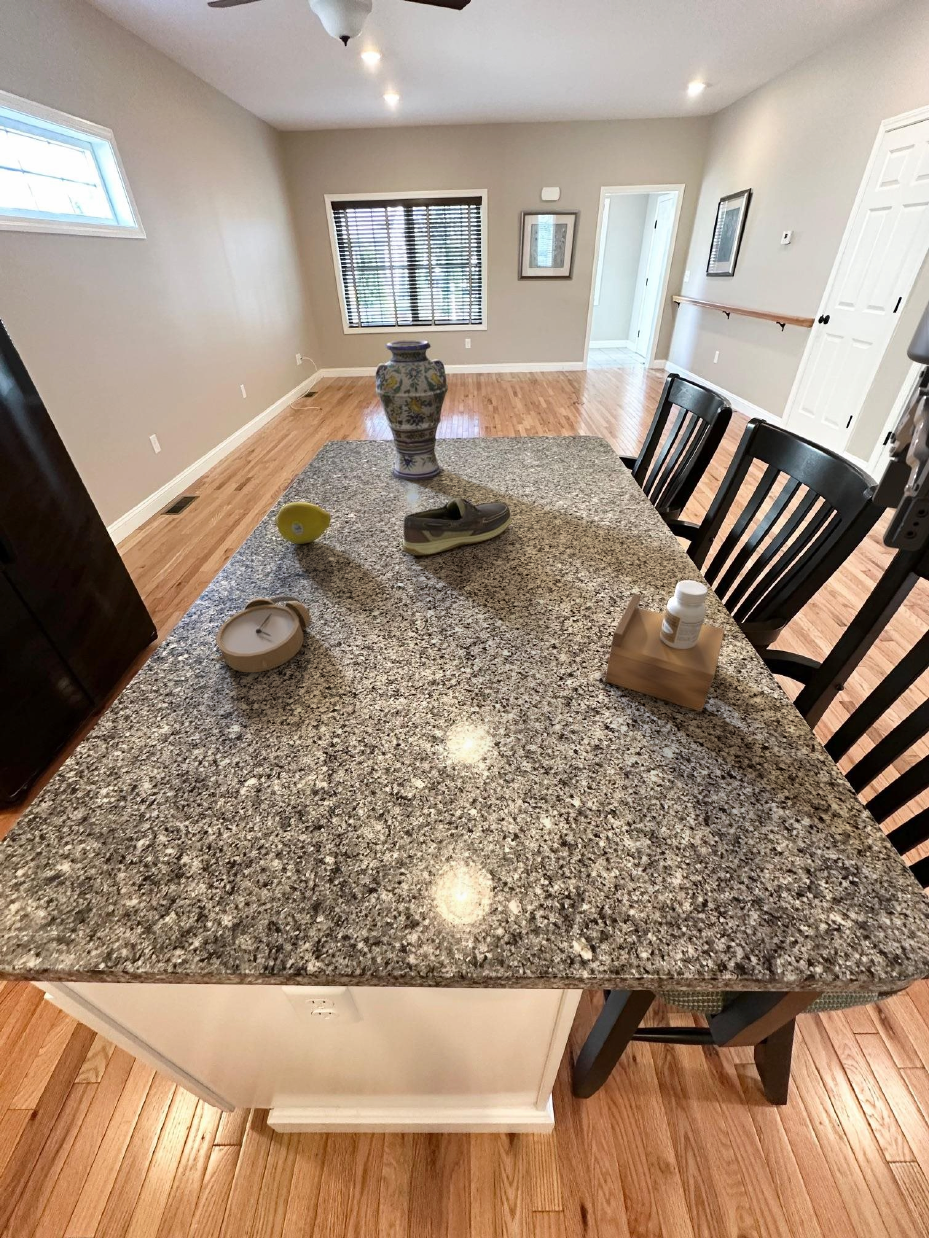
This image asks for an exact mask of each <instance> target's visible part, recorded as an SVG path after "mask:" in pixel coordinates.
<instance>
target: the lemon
mask: <svg viewBox="0 0 929 1238" xmlns="http://www.w3.org/2000/svg"><path fill="white" fill-rule="evenodd" d="M274 522H275V525H276V526H277V530H278V532H279V534H280V536H281V537H282V538H283V539H284V540H286V541H288V542H290V543H293V544H300V545H301V544H303V545H304V544H308V543H311V542H314V541H315V540H317V539H319V538H320V537H322V536H323V535H324V533H325V532H326V530H328V529H329V528H330V526H331V525H330V524H331V514H330V513H329V512H327V510H324V509H322V508H321V507H320V506H318V505H316V504H314V503H311V502H305V501H293V502H290V503H287V504H285V505H283V506H282V507H281V508H280V509H279V511H278V513H277V516H276V518H275V521H274Z"/></svg>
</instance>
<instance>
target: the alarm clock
mask: <svg viewBox="0 0 929 1238" xmlns="http://www.w3.org/2000/svg"><path fill="white" fill-rule="evenodd" d="M282 602H286V603H285V604H284V605H281V604H277V603H282ZM310 611H311V608H310V607H306V606H305V605H304V604H303V601H302V599H300V598H299V597H297V596H293V595H278V596H274V597H272V598H266V597H255V598H252V599H251V600H249V601H248V602H247V604H246V605H245V607H244V610H241V611H239V612H238V613H235V614H234V615H232V616H230V617H229V618H228V619H227V620H225V622H223V623H222V625H221V626H220V627H219V629H218V630H217V633H216V640H215V641H216V644H217V646H218V648H219V651H220V652H221V655H220V656H218V657H217V658H216V659H215V662H216V663H220V662H222V661H224V662H225V664H226V665H227V666H228V667H230V668H232V670H234V671H238V672H242V673H260V672H264V671H270V670H272V669H274V668H277V667H280V666H283V664H285V663H286V662H288V661H289V660H291V659H293V658H294V656H296V654H297V653H298V652H300V650H301V648H302V645H303V644H304V632H303V630H306V629H307V628H308V627H309V626H310V624H311V620H312V619H311V614H310Z"/></svg>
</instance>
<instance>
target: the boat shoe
mask: <svg viewBox="0 0 929 1238" xmlns="http://www.w3.org/2000/svg"><path fill="white" fill-rule="evenodd" d="M512 521H513V519H512V513H511V509H510V507H509V506H508V504H507V503H505V502H503V501H494V502H493V501H492V502H486V503H477V504H475V505H474V504H473V502H472V501H470V500H467V499H465V498H463V497H455V498H451V499H450V500H448V502H446V503H445V504H444V505H443V506H441V507H437V508H429V509H426V510H422V511H418V512H412V513H409V514H406V515H404V516H403V525H402V532H403V535H402V536H403V538H402V550H403V551H404V552H406V553H408V554H410V555H412V556H427V555H429V556H430V555H434V554H438V553H441V552H445V551H448V550H452V549H455V548H458V547H461V546H466V545H473V544H477V543H481V542H483V541H484V542H485V541H488V540H490V539H493V538H495V537H497V536H500V535H501V534H502V533H504V532H505V531H506V530H507V529H508V528H509V526H510V525H511V523H512Z"/></svg>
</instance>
